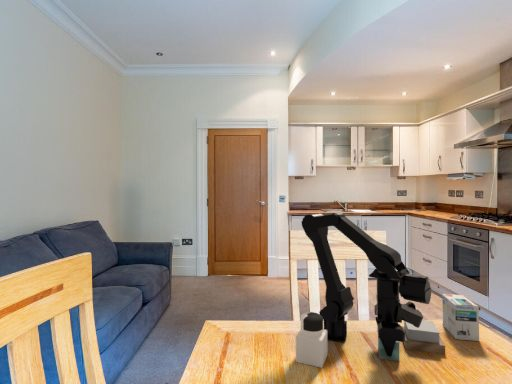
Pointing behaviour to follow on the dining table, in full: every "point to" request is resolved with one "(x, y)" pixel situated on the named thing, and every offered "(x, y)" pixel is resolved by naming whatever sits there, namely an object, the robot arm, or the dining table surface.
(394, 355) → the teal block
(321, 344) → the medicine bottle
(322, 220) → the robot arm
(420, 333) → the grey slab
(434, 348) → the walnut slab
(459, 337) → the light bulb box
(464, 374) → the dining table surface
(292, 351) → the dining table surface
